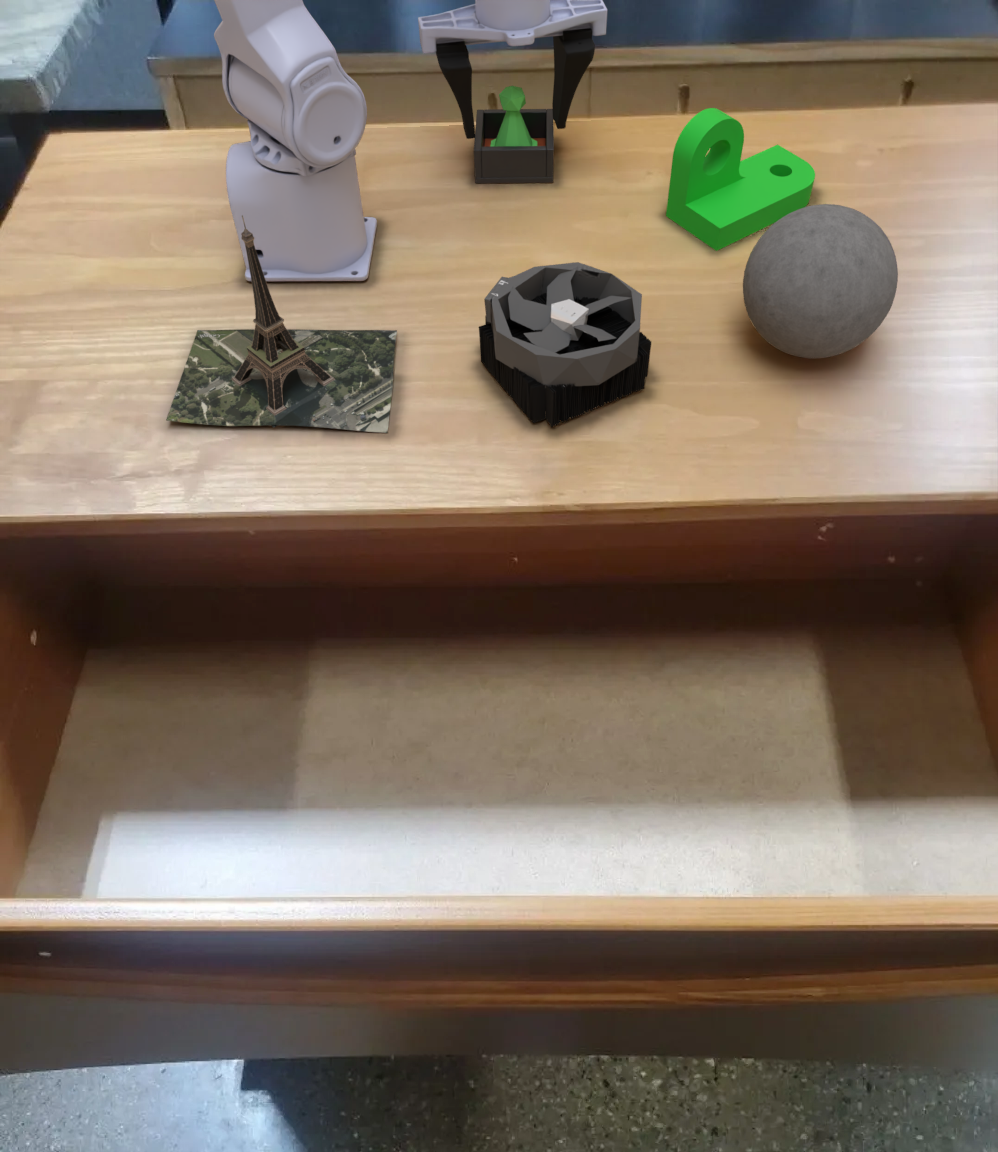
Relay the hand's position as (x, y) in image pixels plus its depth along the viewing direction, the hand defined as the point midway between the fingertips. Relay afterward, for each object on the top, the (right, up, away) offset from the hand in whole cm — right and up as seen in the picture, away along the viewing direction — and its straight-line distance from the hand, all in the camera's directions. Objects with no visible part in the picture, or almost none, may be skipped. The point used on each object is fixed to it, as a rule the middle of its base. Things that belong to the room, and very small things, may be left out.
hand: (514, 128), depth 86 cm
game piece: (0, -2, +2) cm, 3 cm away
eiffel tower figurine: (-16, -24, -14) cm, 32 cm away
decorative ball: (+20, -21, -13) cm, 32 cm away
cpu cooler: (+3, -24, -14) cm, 28 cm away
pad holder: (0, -2, +2) cm, 3 cm away
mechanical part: (+19, -8, -2) cm, 21 cm away
